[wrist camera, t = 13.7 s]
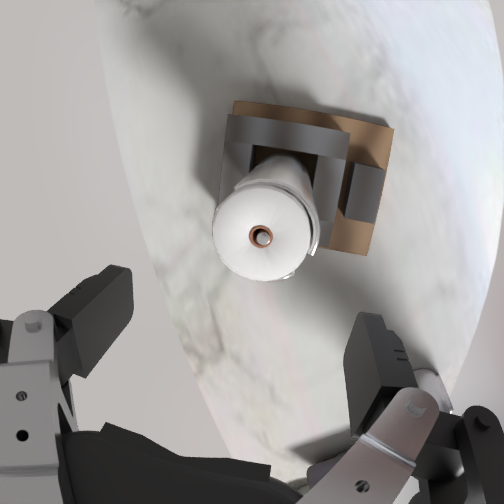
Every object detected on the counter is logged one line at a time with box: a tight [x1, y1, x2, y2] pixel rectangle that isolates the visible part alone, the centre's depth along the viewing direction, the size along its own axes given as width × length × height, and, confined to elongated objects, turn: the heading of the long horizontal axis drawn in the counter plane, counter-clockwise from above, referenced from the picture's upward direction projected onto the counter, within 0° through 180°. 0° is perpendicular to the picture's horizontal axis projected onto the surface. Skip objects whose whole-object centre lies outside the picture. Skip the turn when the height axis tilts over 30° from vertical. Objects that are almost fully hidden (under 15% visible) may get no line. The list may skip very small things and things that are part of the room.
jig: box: [218, 101, 394, 256], centre depth 39 cm, size 21×18×6 cm
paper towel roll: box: [212, 151, 320, 282], centre depth 30 cm, size 6×6×25 cm
